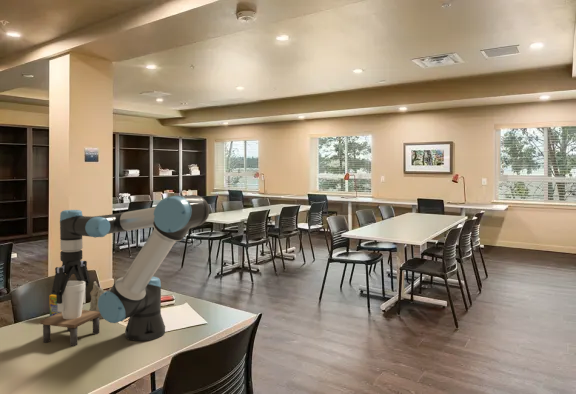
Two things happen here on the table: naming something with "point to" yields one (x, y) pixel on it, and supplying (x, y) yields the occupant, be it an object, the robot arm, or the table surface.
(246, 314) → the table surface
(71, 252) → the robot arm
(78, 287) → the foam cup
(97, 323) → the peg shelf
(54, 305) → the crayon box
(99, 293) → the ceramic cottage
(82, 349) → the table surface
